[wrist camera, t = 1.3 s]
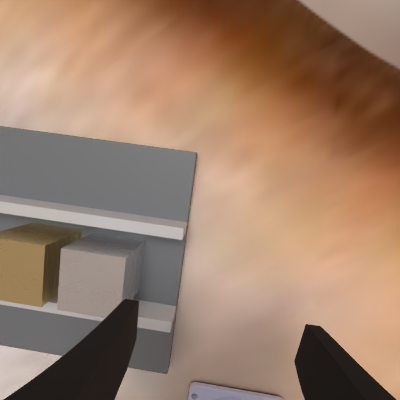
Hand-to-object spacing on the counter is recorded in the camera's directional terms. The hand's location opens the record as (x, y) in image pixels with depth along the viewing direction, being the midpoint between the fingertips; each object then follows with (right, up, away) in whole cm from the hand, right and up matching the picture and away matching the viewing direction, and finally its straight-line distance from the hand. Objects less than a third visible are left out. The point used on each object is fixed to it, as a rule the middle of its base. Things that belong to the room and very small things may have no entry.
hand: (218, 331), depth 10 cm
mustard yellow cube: (-12, +2, +8) cm, 15 cm away
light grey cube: (-7, +1, +8) cm, 11 cm away
